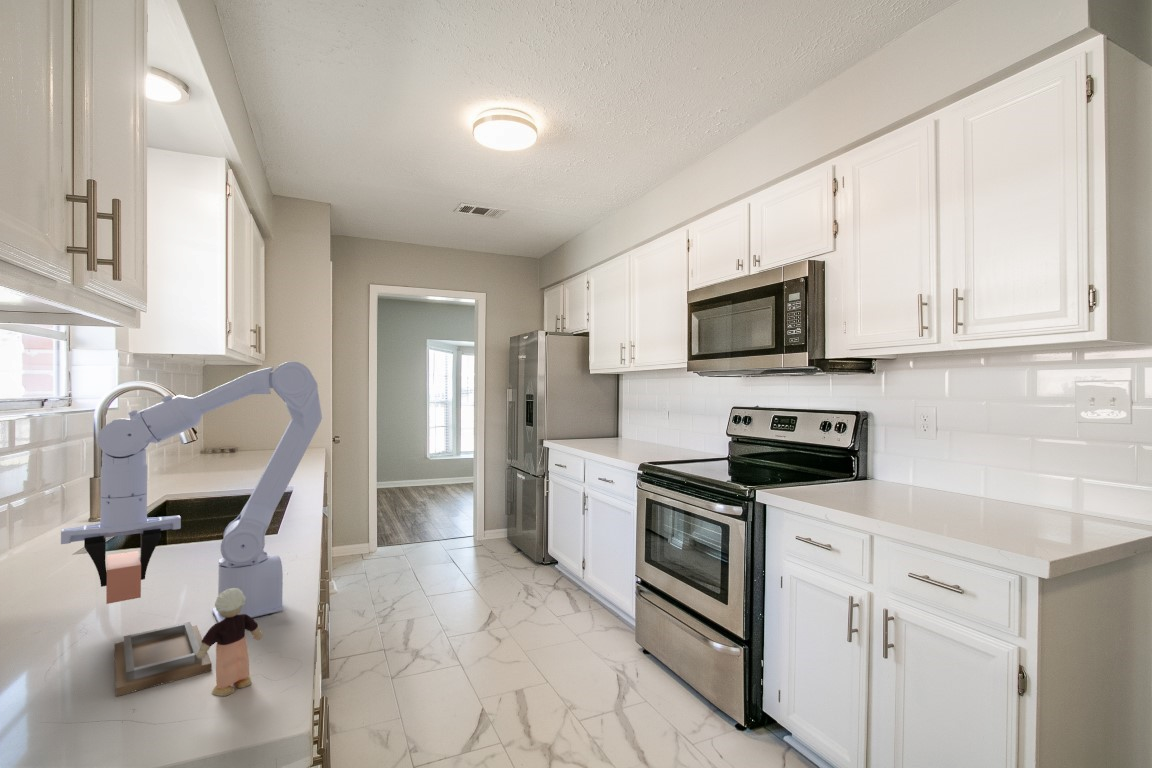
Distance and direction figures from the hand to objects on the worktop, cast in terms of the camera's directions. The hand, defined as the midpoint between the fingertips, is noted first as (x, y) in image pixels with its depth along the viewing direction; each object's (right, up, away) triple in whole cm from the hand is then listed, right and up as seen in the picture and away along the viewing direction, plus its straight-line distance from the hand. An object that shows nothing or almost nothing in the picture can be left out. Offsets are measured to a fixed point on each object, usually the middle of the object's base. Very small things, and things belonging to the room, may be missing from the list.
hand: (123, 581), depth 87 cm
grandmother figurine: (+27, -8, -16) cm, 33 cm away
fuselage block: (0, -2, 0) cm, 2 cm away
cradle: (+13, -8, -9) cm, 18 cm away
